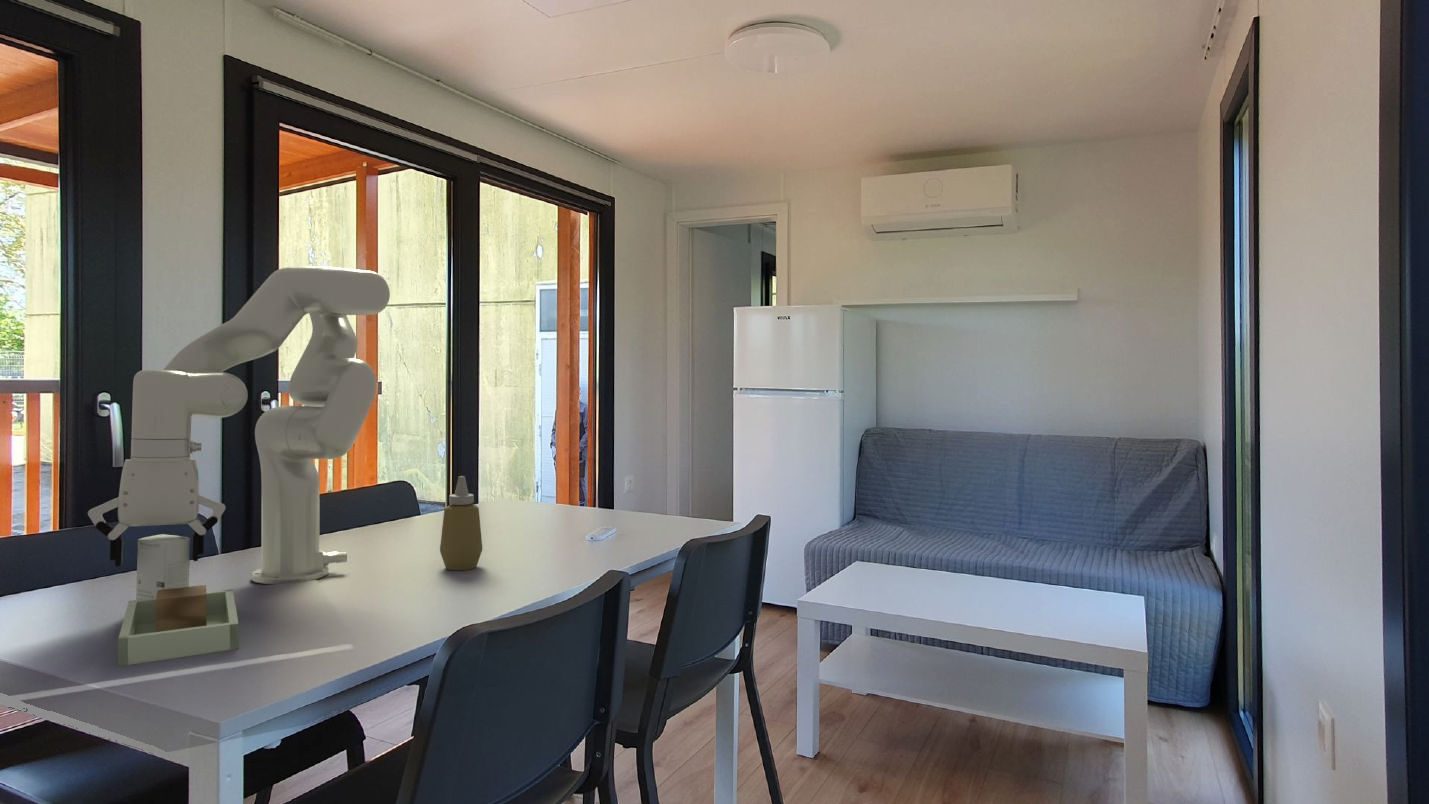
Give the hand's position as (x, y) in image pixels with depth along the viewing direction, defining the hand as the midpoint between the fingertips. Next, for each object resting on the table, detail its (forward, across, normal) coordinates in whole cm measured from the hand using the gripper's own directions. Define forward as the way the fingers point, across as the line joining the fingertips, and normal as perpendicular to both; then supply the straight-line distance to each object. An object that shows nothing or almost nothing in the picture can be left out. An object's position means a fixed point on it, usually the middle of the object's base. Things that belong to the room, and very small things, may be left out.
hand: (157, 562), depth 123 cm
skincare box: (+9, -1, -1) cm, 9 cm away
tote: (+9, -3, +14) cm, 17 cm away
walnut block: (+8, -3, +9) cm, 13 cm away
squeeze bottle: (+7, -49, -10) cm, 50 cm away
